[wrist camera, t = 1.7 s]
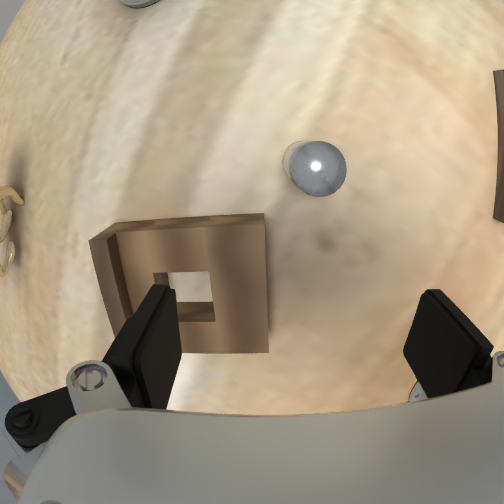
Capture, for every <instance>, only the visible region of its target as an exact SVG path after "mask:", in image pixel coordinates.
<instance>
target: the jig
mask: <svg viewBox="0 0 504 504" xmlns="http://www.w3.org/2000/svg"><path fill="white" fill-rule="evenodd" d="M89 245H90V249H91V254H92V258H93V263H94V267H95V271H96V275H97V279H98V282H99V286H100V290H101V294H102V297H103V301H104V304H105V307H106V311H107V314H108V317H109V320H110V324H111V327H112V330H113V333H114V336H115V338H116V336H117V335H118V333H119V331H120V330H121V328H122V326H123V325H124V323H125V322H126V320H127V319H128V318H130V317H133V315H134V314H135V312H136V310H137V309H138V307H139V306H140V304H141V302H142V301H143V299H144V297H145V296H146V294H147V293H148V291H149V289H150V288H151V286H152V285H153V284H165V285H169V282H168V277H167V272H196V271H209V272H210V280H211V288H212V297H213V302H176V304H177V313H178V322H179V331H180V339H181V347H182V353H269V343H268V308H267V277H266V249H265V224H264V213H260V214H238V215H218V216H201V217H185V218H170V219H157V220H144V221H131V222H120V223H114V224H113V225H111V226H110V227H108V228H107V229H105V230H104V231H102V232H101V233H99V234H98V235H96V236H95V237H93V238H92V239H91V240H89Z"/></svg>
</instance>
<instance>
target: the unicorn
mask: <svg viewBox="0 0 504 504" xmlns="http://www.w3.org/2000/svg"><path fill="white" fill-rule="evenodd" d="M6 197H11V198H12V199H13V201H14V202H15V203H16V204H18V205H21V206H23V205H24V200H23V199H22V198H21V197H20V196H19V195H18V193H17V192H16V191H15V190H14V188H12V187H11V186H9V185H5V186H1V187H0V210H1V212H2V213H3V214H4V215H5V216H4V221H3V225H2V227H1V229H0V243H1V242H2V241H3V240H4V239H5V237H6V234H7V232H8V229H9V227H10V225H11V222H12V211H11V210H9V211H7V209H6V207H5V205H4V202H3V199H5V198H6ZM14 256H15V247H14V244H13V242H11V241H10V242H9V243H8V246H7V254H6V258H5V261H4V263H3V264H2V266H1V265H0V277H3V276H5V275H6V274H7V272H8V269H9V267H10V265H11V263H12V261H13V259H14Z"/></svg>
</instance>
